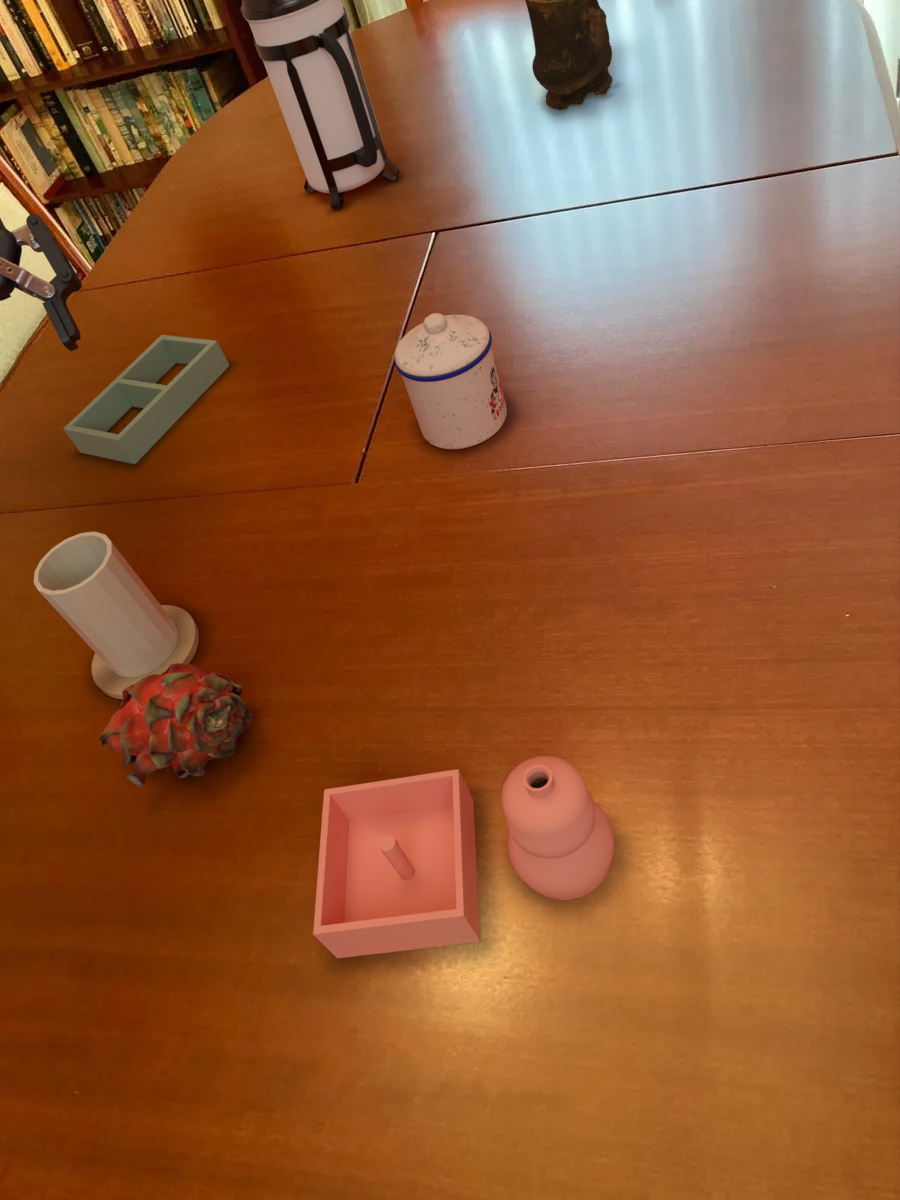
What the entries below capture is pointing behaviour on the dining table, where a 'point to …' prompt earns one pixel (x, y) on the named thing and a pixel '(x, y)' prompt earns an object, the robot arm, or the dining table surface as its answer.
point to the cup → (107, 604)
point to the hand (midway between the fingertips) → (23, 369)
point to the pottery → (447, 854)
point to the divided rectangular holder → (147, 398)
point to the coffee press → (320, 92)
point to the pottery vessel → (570, 49)
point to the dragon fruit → (177, 721)
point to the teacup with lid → (452, 380)
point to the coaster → (181, 654)
